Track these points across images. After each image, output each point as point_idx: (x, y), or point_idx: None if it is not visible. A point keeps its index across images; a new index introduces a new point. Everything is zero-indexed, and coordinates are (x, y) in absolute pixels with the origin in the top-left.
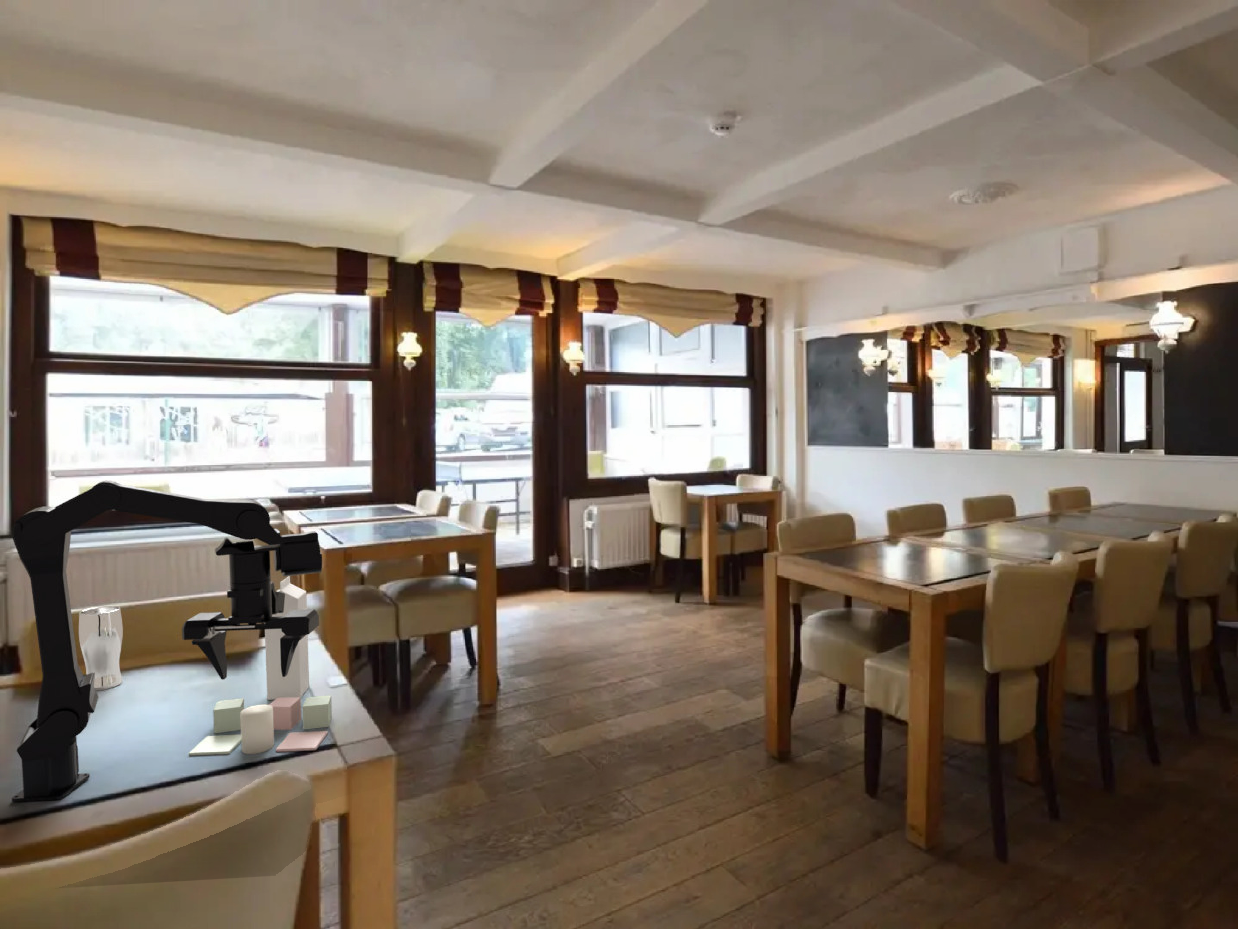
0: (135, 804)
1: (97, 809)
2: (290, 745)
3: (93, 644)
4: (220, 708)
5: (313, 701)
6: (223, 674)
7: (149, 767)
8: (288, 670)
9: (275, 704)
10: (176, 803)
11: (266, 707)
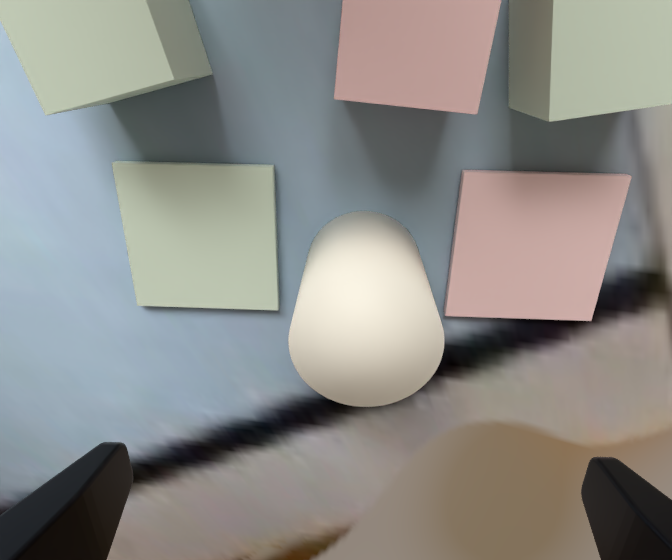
0: (180, 524)
1: None
2: (493, 293)
3: None
4: (70, 91)
5: (609, 40)
6: (117, 522)
7: (67, 361)
8: (643, 482)
9: (375, 64)
10: (277, 532)
11: (405, 315)
